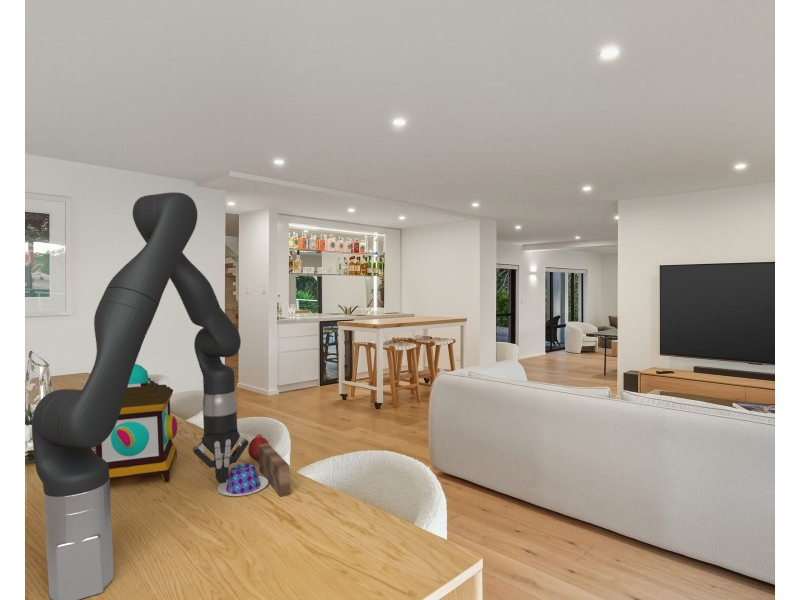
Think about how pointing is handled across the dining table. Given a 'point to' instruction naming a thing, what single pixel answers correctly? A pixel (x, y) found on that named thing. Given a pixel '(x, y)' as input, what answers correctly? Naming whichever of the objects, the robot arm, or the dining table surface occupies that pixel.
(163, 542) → the dining table surface
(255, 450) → the onion
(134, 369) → the decorative lantern
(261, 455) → the walnut board
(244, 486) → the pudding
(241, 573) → the dining table surface
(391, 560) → the dining table surface
